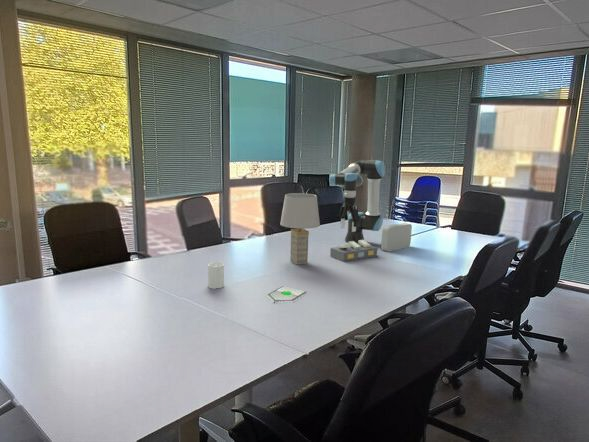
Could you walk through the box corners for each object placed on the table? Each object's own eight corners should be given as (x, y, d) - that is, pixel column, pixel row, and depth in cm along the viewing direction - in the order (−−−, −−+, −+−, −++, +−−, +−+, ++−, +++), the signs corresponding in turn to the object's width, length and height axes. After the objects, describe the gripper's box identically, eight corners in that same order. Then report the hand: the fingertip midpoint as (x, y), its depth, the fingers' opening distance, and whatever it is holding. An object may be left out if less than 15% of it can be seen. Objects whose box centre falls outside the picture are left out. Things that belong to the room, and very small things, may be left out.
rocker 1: (338, 248, 280) (337, 245, 280) (343, 247, 282) (342, 244, 282) (345, 247, 273) (345, 245, 273) (350, 247, 275) (350, 244, 275)
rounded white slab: (402, 244, 321) (403, 222, 318) (410, 246, 315) (412, 223, 312) (378, 249, 303) (379, 225, 300) (386, 252, 298) (388, 227, 294)
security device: (256, 301, 200) (256, 297, 200) (280, 288, 219) (280, 284, 219) (286, 309, 192) (286, 305, 191) (308, 294, 211) (308, 291, 211)
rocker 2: (348, 243, 284) (348, 241, 284) (352, 243, 287) (353, 240, 286) (355, 249, 279) (355, 246, 278) (360, 248, 281) (360, 246, 280)
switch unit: (330, 256, 282) (330, 246, 281) (363, 251, 298) (363, 242, 297) (343, 261, 270) (344, 251, 269) (377, 256, 286) (377, 246, 285)
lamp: (290, 270, 249) (292, 198, 241) (273, 259, 271) (274, 193, 263) (325, 265, 260) (328, 197, 252) (306, 255, 282) (308, 192, 274)
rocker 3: (358, 242, 289) (358, 240, 289) (362, 241, 292) (363, 239, 291) (365, 247, 283) (365, 245, 283) (370, 246, 286) (370, 244, 285)
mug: (218, 280, 226) (218, 259, 224) (231, 283, 223) (231, 262, 220) (204, 287, 216) (204, 265, 214) (217, 290, 212) (217, 267, 210)
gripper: (334, 195, 276) (332, 227, 280) (357, 199, 257) (355, 233, 261) (342, 194, 280) (341, 226, 284) (366, 198, 261) (364, 232, 265)
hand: (348, 229), depth 273 cm, fingers open, 11 cm apart
